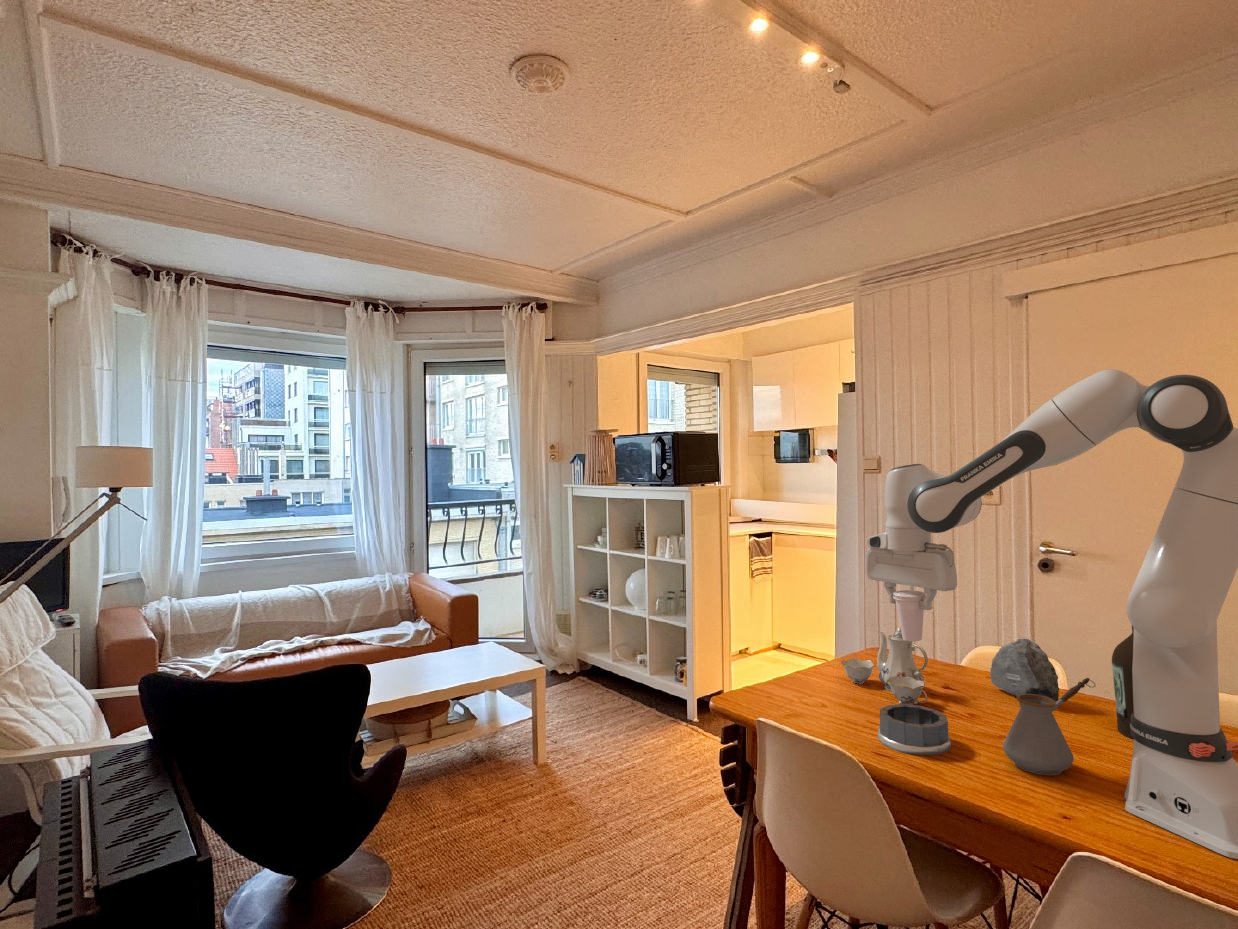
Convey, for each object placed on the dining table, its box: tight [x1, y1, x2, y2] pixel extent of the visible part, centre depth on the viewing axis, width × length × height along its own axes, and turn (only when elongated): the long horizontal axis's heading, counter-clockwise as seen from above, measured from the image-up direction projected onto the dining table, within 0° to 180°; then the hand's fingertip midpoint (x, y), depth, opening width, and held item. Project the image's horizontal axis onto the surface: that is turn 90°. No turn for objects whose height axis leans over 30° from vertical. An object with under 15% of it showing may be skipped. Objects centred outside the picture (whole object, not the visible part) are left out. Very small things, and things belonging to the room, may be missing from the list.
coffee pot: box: [1002, 677, 1096, 776], centre depth 128 cm, size 21×12×15 cm, turn 111°
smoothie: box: [893, 586, 926, 642], centre depth 139 cm, size 6×6×14 cm
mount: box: [877, 703, 952, 757], centre depth 139 cm, size 14×14×6 cm
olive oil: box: [1111, 625, 1134, 740], centre depth 140 cm, size 11×11×25 cm
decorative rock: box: [989, 638, 1060, 702], centre depth 163 cm, size 16×7×15 cm, turn 14°
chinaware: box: [840, 626, 929, 705], centre depth 171 cm, size 28×17×17 cm, turn 25°
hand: (910, 606), depth 139 cm, fingers closed on smoothie, 6 cm apart
